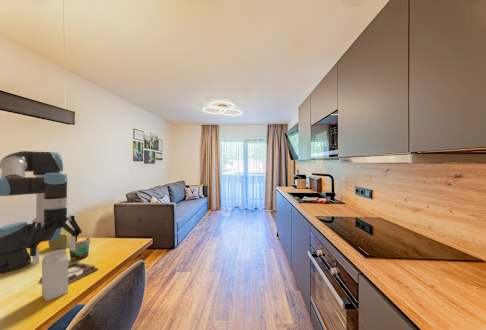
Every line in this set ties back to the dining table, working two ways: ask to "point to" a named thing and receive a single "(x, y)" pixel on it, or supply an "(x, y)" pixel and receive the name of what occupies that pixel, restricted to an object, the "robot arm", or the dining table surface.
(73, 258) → the food container
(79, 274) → the brown picture frame
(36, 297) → the dining table surface
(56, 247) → the cheese
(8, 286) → the dining table surface
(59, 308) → the dining table surface
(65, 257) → the milk carton
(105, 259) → the dining table surface
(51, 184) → the robot arm
